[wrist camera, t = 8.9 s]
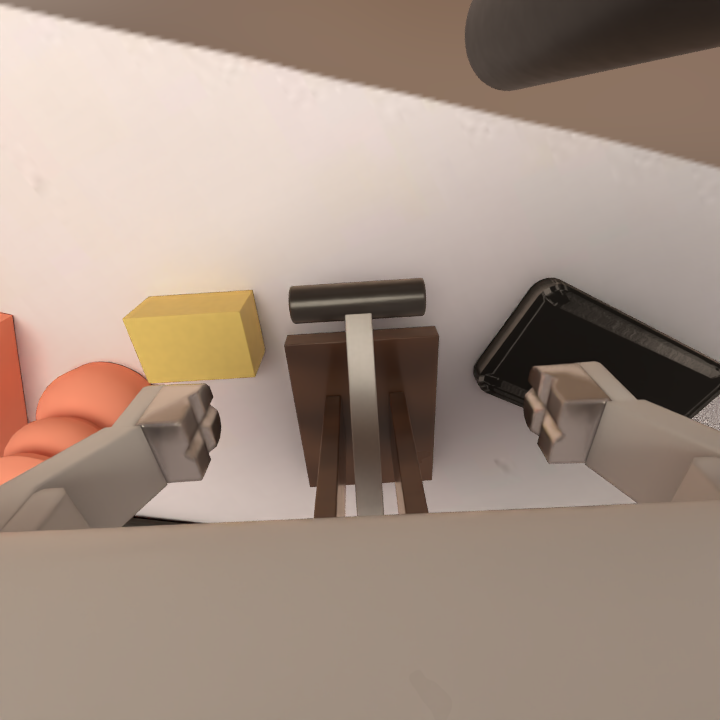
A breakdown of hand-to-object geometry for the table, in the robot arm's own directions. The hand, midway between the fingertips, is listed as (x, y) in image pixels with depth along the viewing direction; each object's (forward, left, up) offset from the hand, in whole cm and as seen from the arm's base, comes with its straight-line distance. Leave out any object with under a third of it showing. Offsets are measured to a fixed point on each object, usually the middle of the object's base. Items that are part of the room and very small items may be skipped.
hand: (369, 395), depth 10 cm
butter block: (+4, -9, -13) cm, 16 cm away
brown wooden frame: (+11, 0, -13) cm, 17 cm away
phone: (+9, +15, -13) cm, 22 cm away
